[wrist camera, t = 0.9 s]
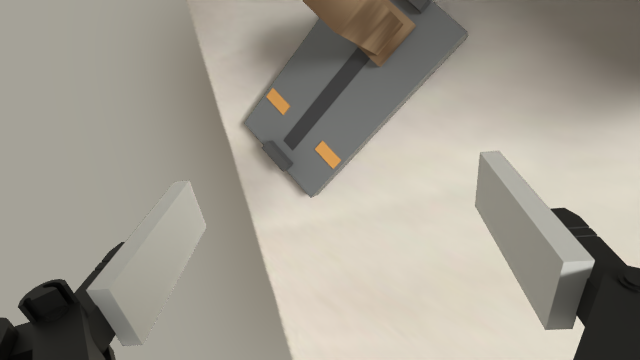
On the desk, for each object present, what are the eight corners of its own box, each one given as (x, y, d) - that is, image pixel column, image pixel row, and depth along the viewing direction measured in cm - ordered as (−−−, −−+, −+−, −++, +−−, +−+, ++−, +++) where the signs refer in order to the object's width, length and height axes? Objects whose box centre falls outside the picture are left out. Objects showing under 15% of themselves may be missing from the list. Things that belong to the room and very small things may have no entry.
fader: (380, -7, 35) (332, -61, 24) (416, 26, 34) (383, -16, 24) (348, 35, 37) (290, 3, 27) (380, 66, 36) (335, 46, 26)
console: (376, -45, 37) (367, -59, 34) (468, 35, 35) (466, 28, 32) (253, 122, 47) (238, 123, 44) (317, 194, 45) (306, 200, 42)
